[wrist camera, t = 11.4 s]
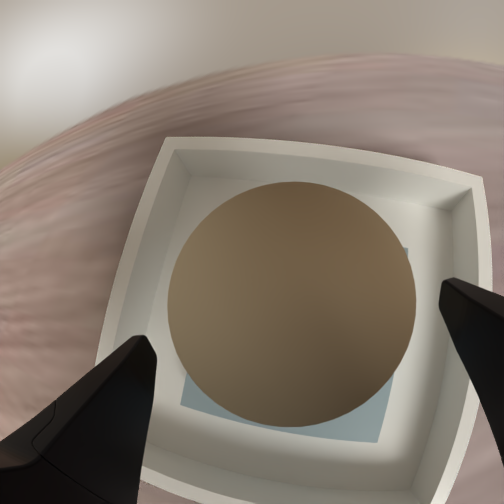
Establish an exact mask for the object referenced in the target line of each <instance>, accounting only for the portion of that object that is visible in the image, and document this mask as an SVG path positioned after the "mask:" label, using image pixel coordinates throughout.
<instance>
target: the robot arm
mask: <svg viewBox="0 0 504 504" xmlns="http://www.w3.org/2000/svg"><path fill="white" fill-rule="evenodd" d="M438 305H439V310H440V312H441V315H442V317H443V319H444V322H445V324H446V327H447V329H448V331H449V334H450V336H451V339H452V341H453V344H454V346H455V349H456V351H457V353H458V355H459V357H460V359H461V361H462V363H463V365H464V367H465V369H466V371H467V373H468V375H469V377H470V380H471V382H472V384H473V386H474V388H475V391H476V393H477V395H478V397H479V400H480V402H481V404H482V407H483V409H484V412H485V414H486V417H487V419H488V422H489V424H490V427H491V430H492V432H493V435H494V438H495V441H496V444H497V447H498V450H499V453H500V456H501V460H502V463H503V466H504V297H503V296H501V295H498V294H496V293H494V292H491V291H489V290H486V289H484V288H481V287H479V286H476V285H473V284H471V283H468V282H466V281H463V280H460V279H458V278H455V277H452V278H448V279H445V280H443V281H442V283H441V289H440V296H439V303H438ZM156 370H157V355H156V352H155V351H154V349H153V347H152V345H151V343H150V341H149V340H148V338H147V337H146V336H145V335H134V336H132V337H130V338H129V339H128V340H127V341H126V342H124V343H123V344H122V345H121V346H119V347H118V348H117V349H116V350H115V351H113V352H112V353H111V354H110V355H109V356H107V357H106V358H105V359H104V360H103V361H101V362H100V363H99V364H98V365H97V366H95V367H94V368H93V369H92V370H90V371H89V372H88V373H87V374H86V375H84V376H83V377H82V378H81V379H80V380H78V381H77V382H76V383H75V384H74V385H73V386H71V387H70V388H69V389H68V390H67V391H65V392H64V393H63V394H62V395H61V396H59V397H58V398H57V400H55V401H53V402H52V403H51V404H50V405H49V406H47V407H46V408H45V409H44V410H42V411H41V412H40V413H39V414H38V415H36V416H35V417H34V418H32V419H31V420H30V421H28V422H27V423H26V424H24V425H23V426H21V427H20V428H19V429H17V430H16V431H14V432H13V433H12V434H10V435H9V436H7V437H6V438H5V439H3V440H2V441H0V504H137V497H138V490H139V483H140V476H141V469H142V463H143V457H144V451H145V445H146V439H147V433H148V428H149V423H150V417H151V412H152V407H153V400H154V391H155V380H156Z"/></svg>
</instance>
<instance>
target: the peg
mask: <svg viewBox="0 0 504 504" xmlns="http://www.w3.org/2000/svg"><path fill="white" fill-rule="evenodd" d="M167 311H168V323H169V329H170V334H171V338H172V341H173V344H174V347H175V350H176V353H177V355H178V357H179V359H180V361H181V363H182V365H183V367H184V368H185V370H186V371H187V373H188V374H189V376H190V377H191V379H192V380H193V381H194V383H195V384H196V385H197V386H198V387H199V388H200V389H201V390H202V391H203V393H205V394H206V395H207V396H208V397H209V398H210V399H212V400H213V401H214V402H215V403H216V404H218V405H219V406H221V407H223V408H224V409H226V410H227V411H229V412H231V413H233V414H235V415H237V416H239V417H242V418H244V419H246V420H249V421H253V422H256V423H260V424H263V425H269V426H277V427H303V426H310V425H317V424H320V423H324V422H327V421H331V420H334V419H336V418H338V417H341V416H343V415H345V414H347V413H349V412H351V411H353V410H354V409H356V408H358V407H359V406H361V405H362V404H364V403H365V402H366V401H368V400H369V399H370V398H371V397H372V396H374V395H375V394H376V393H377V392H378V391H379V390H380V389H381V388H382V387H383V386H384V385H385V384H386V382H387V381H388V380H389V379H390V378H391V376H392V375H393V373H394V372H395V370H396V369H397V367H398V366H399V364H400V363H401V361H402V359H403V357H404V355H405V352H406V350H407V348H408V345H409V342H410V339H411V336H412V333H413V328H414V323H415V317H416V289H415V281H414V277H413V272H412V268H411V265H410V262H409V260H408V257H407V255H406V252H405V250H404V248H403V246H402V245H401V243H400V241H399V239H398V237H397V236H396V235H395V233H394V232H393V231H392V229H391V228H390V226H389V225H388V224H387V223H386V222H385V221H384V220H383V219H382V218H381V217H380V216H379V215H378V214H377V213H376V212H375V211H374V210H372V209H371V208H370V207H369V206H367V205H366V204H365V203H363V202H362V201H360V200H358V199H357V198H355V197H353V196H351V195H349V194H347V193H345V192H343V191H341V190H338V189H335V188H332V187H329V186H325V185H321V184H315V183H310V182H295V181H294V182H279V183H273V184H267V185H263V186H259V187H256V188H253V189H250V190H247V191H245V192H243V193H241V194H238V195H236V196H234V197H233V198H231V199H229V200H227V201H226V202H224V203H223V204H221V205H220V206H219V207H217V208H216V209H215V210H213V211H212V212H211V213H210V214H209V215H208V216H207V217H206V218H205V219H204V220H202V221H201V222H200V224H199V225H198V226H197V227H196V228H195V230H194V231H193V232H192V233H191V235H190V236H189V238H188V239H187V241H186V243H185V244H184V246H183V247H182V249H181V252H180V254H179V256H178V258H177V260H176V263H175V266H174V269H173V272H172V275H171V279H170V284H169V289H168V301H167Z"/></svg>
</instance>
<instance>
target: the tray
mask: <svg viewBox="0 0 504 504" xmlns="http://www.w3.org/2000/svg"><path fill="white" fill-rule="evenodd" d="M294 181H295V182H310V183H315V184H321V185H325V186H329V187H332V188H335V189H338V190H341V191H343V192H345V193H347V194H349V195H351V196H353V197H355V198H357V199H358V200H360V201H362V202H363V203H365V204H366V205H367V206H369V207H370V208H371V209H372V210H374V211H375V212H376V213H377V214H378V215H379V216H380V217H381V218H382V219H383V220H384V221H385V222H386V223H387V224H388V225H389V226H390V228H391V229H392V231H393V232H394V233H395V235H396V236H397V237H398V239H399V241H400V243H401V245H402V246H403V248H404V250H405V252H406V255H407V257H408V260H409V262H410V265H411V268H412V272H413V277H414V281H415V289H416V317H415V323H414V328H413V333H412V336H411V339H410V342H409V345H408V348H407V350H406V352H405V355H404V357H403V359H402V361H401V363H400V364H399V366H398V367H397V369H396V370H395V372H394V373H393V375H392V376H391V378H390V379H389V380H388V381H387V382H386V384H385V385H384V386H383V387H382V388H381V389H380V390H379V391H378V392H377V393H376V394H375V395H374V396H372V397H371V398H370V399H369V400H368V401H366V402H365V403H364V404H362V405H361V406H359V407H358V408H356V409H354V410H353V411H351V412H349V413H347V414H345V415H343V416H341V417H338V418H336V419H334V420H331V421H327V422H324V423H320V424H317V425H310V426H303V427H277V426H269V425H263V424H260V423H256V422H253V421H249V420H246V419H244V418H242V417H239V416H237V415H235V414H233V413H231V412H229V411H227V410H226V409H224V408H223V407H221V406H219V405H218V404H216V403H215V402H214V401H213V400H212V399H210V398H209V397H208V396H207V395H206V394H205V393H203V391H202V390H201V389H200V388H199V387H198V386H197V385H196V384H195V383H194V381H193V380H192V379H191V377H190V376H189V374H188V373H187V371H186V370H185V368H184V367H183V365H182V363H181V361H180V359H179V357H178V355H177V353H176V350H175V347H174V344H173V341H172V338H171V334H170V329H169V323H168V311H167V301H168V289H169V284H170V279H171V275H172V272H173V269H174V266H175V263H176V260H177V258H178V256H179V254H180V252H181V249H182V247H183V246H184V244H185V243H186V241H187V239H188V238H189V236H190V235H191V233H192V232H193V231H194V230H195V228H196V227H197V226H198V225H199V224H200V222H201V221H202V220H204V219H205V218H206V217H207V216H208V215H209V214H210V213H211V212H212V211H213V210H215V209H216V208H217V207H219V206H220V205H221V204H223V203H224V202H226V201H227V200H229V199H231V198H233V197H234V196H236V195H238V194H241V193H243V192H245V191H247V190H250V189H253V188H256V187H259V186H263V185H267V184H273V183H279V182H294ZM452 277H455V278H458V279H460V280H463V281H466V282H468V283H471V284H473V285H476V286H479V287H481V288H484V289H486V290H489V291H491V292H492V254H491V239H490V228H489V219H488V211H487V203H486V197H485V191H484V185H483V180H482V177H480V176H477V175H473V174H470V173H466V172H462V171H459V170H455V169H451V168H447V167H443V166H439V165H435V164H431V163H427V162H422V161H418V160H413V159H409V158H404V157H399V156H394V155H388V154H383V153H377V152H372V151H366V150H359V149H353V148H346V147H339V146H331V145H323V144H315V143H305V142H295V141H284V140H271V139H256V138H235V137H166V138H165V140H164V143H163V145H162V147H161V149H160V152H159V154H158V156H157V159H156V161H155V164H154V166H153V169H152V171H151V173H150V176H149V178H148V181H147V184H146V186H145V189H144V191H143V194H142V197H141V199H140V202H139V205H138V208H137V210H136V213H135V216H134V219H133V222H132V225H131V228H130V231H129V234H128V237H127V240H126V243H125V246H124V249H123V252H122V256H121V259H120V262H119V266H118V269H117V273H116V276H115V280H114V283H113V287H112V291H111V295H110V299H109V303H108V307H107V311H106V315H105V319H104V324H103V328H102V333H101V337H100V342H99V347H98V352H97V357H96V363H95V366H97V365H98V364H99V363H100V362H101V361H103V360H104V359H105V358H106V357H107V356H109V355H110V354H111V353H112V352H113V351H115V350H116V349H117V348H118V347H119V346H121V345H122V344H123V343H124V342H126V341H127V340H128V339H129V338H130V337H132V336H134V335H145V336H146V337H147V338H148V340H149V341H150V343H151V345H152V347H153V349H154V351H155V352H156V355H157V370H156V380H155V391H154V400H153V407H152V412H151V417H150V423H149V428H148V433H147V439H146V445H145V451H144V457H143V463H142V469H141V476H140V479H141V480H143V481H145V482H147V483H149V484H152V485H154V486H156V487H159V488H161V489H163V490H166V491H168V492H171V493H173V494H176V495H179V496H181V497H184V498H187V499H190V500H192V501H195V502H198V503H201V504H445V502H446V500H447V498H448V496H449V493H450V491H451V489H452V486H453V484H454V482H455V479H456V477H457V474H458V472H459V469H460V466H461V464H462V461H463V458H464V455H465V452H466V449H467V446H468V443H469V440H470V436H471V433H472V429H473V426H474V422H475V418H476V414H477V410H478V406H479V402H480V400H479V397H478V395H477V393H476V391H475V388H474V386H473V384H472V382H471V380H470V377H469V375H468V373H467V371H466V369H465V367H464V365H463V363H462V361H461V359H460V357H459V355H458V353H457V351H456V349H455V346H454V344H453V341H452V339H451V336H450V334H449V331H448V329H447V327H446V324H445V322H444V319H443V317H442V315H441V312H440V310H439V305H438V303H439V296H440V289H441V283H442V281H443V280H445V279H448V278H452Z"/></svg>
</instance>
